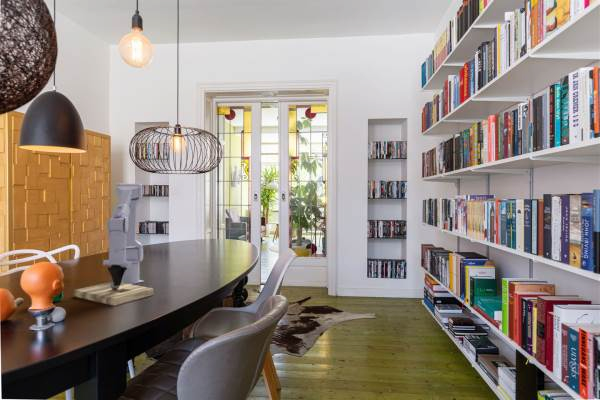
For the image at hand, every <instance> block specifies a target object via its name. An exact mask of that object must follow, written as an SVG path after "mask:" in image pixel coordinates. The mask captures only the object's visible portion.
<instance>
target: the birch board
mask: <svg viewBox="0 0 600 400" xmlns="http://www.w3.org/2000/svg"><path fill="white" fill-rule="evenodd" d="M112 282H113V281H110V282H105V283H99V284H96V285H91V286H86V287H81V288H77V289H74V297H76V298H80V299H82V300H83V299H84V300H88V301H92V302H97V303H102V304H105V305H110V306H118V305H122V304H125V303H130V302H132V301H136V300H140V299H143V298H146V297H151V296H153V295H154V287H148V286H147V287H146V286H141V285H136V284H126V283H121V285H120V287H119V288H118V289H117V290H113V289H111V287H110V285H111V283H112Z"/></svg>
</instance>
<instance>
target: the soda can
mask: <svg viewBox="0 0 600 400" xmlns="http://www.w3.org/2000/svg"><path fill="white" fill-rule="evenodd" d="M59 267H60V268H61V269H62V272H63V273H64V269H63V268H62V267H61V266H59ZM63 292H64V290H63V291H62V292H61V293H60V294H59V295H57V296H56V297H54V299H53V302H54V303H59V302H62V301H63V299H64V293H63Z"/></svg>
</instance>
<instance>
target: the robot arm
mask: <svg viewBox="0 0 600 400" xmlns="http://www.w3.org/2000/svg"><path fill="white" fill-rule="evenodd" d="M143 189H144V188H143V185H142V183H128V182H126V183H123V182H122V183H121V182H118V183H117V184H116V186H115V194H116V197H117V198H118V204H116V205H115V206H114V209H113V213H112V216H111V217H110V219H108V220H107V222H106V228H107V237H108V259H104V260H103V261H102V262H103V263H102V264H103V266H110V267H107V271H108V272H109V274H110V276H111V280H112V282H113V283H114V286H119V285H121V283H126V284H132V285H136V284H139V283H143V282H145V280H141V279H140V262H142V261H143V260H144V246H143V244H142V242H140V241H138V240H137V224H138V221H137V220H138V217H137V216H138V215H137V214H138V205H139V204H140V203H142V202H143V191H144V190H143Z"/></svg>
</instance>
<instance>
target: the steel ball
mask: <svg viewBox="0 0 600 400" xmlns="http://www.w3.org/2000/svg"><path fill="white" fill-rule="evenodd" d="M111 282H112V283H111V285H110V287H111V289H113V290H117V289H118V288H119V287H120V285H119V286H114V283H113V281H111Z"/></svg>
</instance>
